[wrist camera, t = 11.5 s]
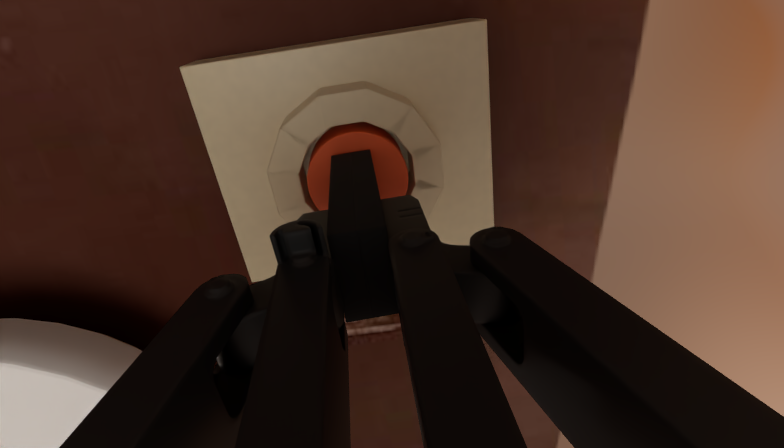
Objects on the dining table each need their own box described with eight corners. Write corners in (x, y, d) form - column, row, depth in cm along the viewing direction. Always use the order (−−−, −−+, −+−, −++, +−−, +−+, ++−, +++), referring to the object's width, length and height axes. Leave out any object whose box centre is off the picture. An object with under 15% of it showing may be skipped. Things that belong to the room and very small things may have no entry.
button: (396, 113, 18) (402, 124, 17) (408, 201, 20) (414, 218, 18) (299, 129, 18) (296, 141, 17) (320, 216, 20) (318, 234, 18)
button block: (472, 17, 19) (502, 20, 16) (482, 221, 24) (507, 260, 20) (195, 60, 19) (161, 73, 15) (259, 259, 23) (244, 305, 20)
